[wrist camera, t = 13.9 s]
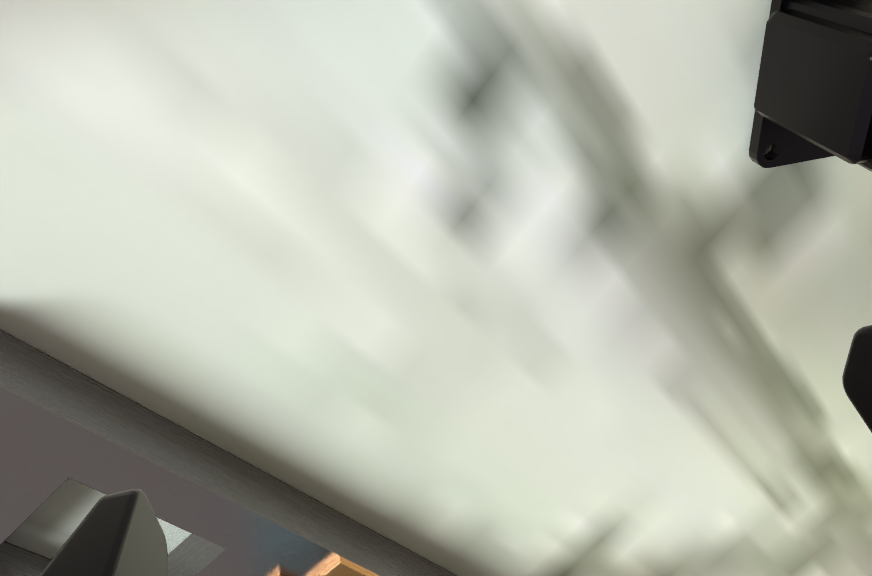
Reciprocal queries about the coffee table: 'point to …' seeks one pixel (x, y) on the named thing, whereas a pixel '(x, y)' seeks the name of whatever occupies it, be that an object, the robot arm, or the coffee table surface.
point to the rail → (166, 483)
